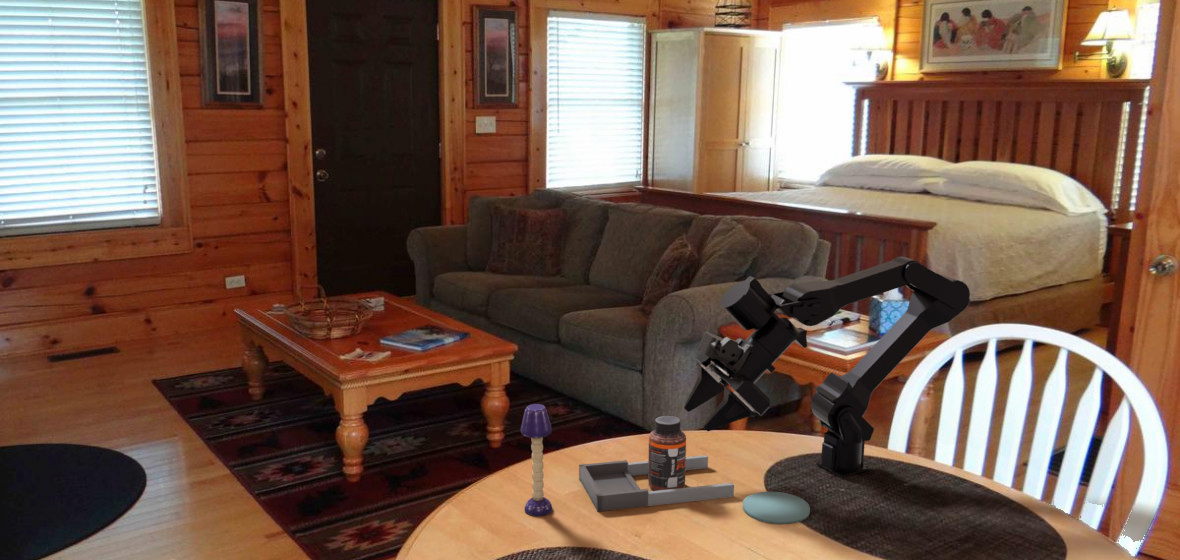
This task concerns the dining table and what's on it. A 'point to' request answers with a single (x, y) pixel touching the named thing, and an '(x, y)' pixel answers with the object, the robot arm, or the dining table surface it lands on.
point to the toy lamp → (537, 456)
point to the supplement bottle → (667, 455)
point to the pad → (776, 507)
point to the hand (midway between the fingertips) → (695, 419)
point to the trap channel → (620, 491)
